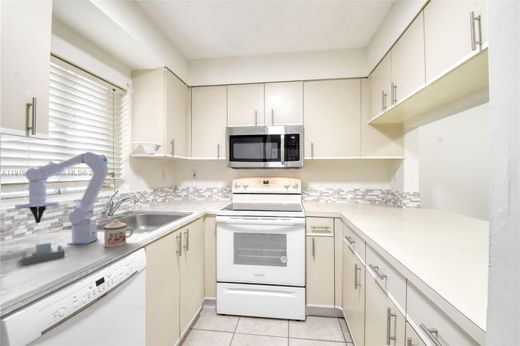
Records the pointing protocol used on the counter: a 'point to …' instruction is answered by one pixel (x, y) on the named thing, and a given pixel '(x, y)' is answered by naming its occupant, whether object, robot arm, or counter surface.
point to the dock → (43, 256)
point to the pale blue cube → (43, 247)
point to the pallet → (36, 254)
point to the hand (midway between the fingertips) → (37, 222)
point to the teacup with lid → (115, 234)
